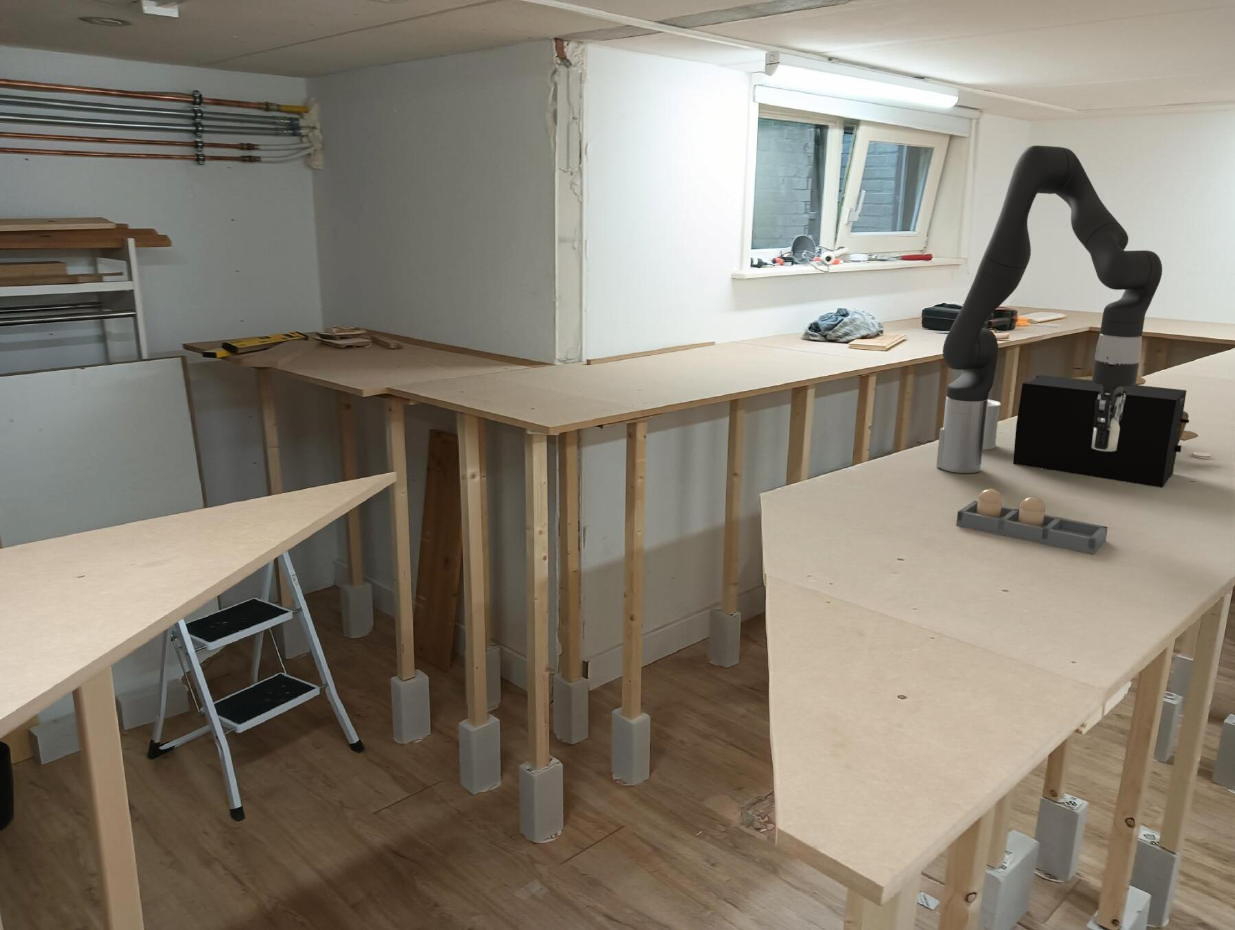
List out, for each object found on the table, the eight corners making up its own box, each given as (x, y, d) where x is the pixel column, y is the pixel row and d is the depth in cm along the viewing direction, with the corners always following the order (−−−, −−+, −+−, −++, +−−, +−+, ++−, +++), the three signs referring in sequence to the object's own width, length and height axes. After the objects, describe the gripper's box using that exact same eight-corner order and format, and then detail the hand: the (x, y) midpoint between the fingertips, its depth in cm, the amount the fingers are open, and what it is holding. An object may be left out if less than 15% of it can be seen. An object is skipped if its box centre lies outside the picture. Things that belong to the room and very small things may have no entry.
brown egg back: (972, 519, 186) (975, 489, 185) (980, 514, 189) (983, 484, 188) (995, 524, 183) (998, 494, 182) (1002, 518, 187) (1006, 488, 185)
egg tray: (956, 525, 186) (957, 511, 185) (972, 513, 193) (974, 500, 192) (1092, 554, 171) (1095, 539, 170) (1105, 540, 177) (1107, 526, 177)
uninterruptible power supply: (1030, 451, 241) (1040, 373, 235) (1181, 474, 221) (1195, 390, 215) (1011, 465, 228) (1021, 383, 223) (1169, 490, 208) (1184, 401, 203)
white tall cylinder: (1001, 450, 241) (1010, 373, 236) (965, 450, 242) (973, 372, 236) (986, 440, 252) (994, 365, 246) (951, 440, 252) (959, 365, 246)
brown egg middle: (1014, 528, 181) (1018, 497, 180) (1021, 522, 185) (1025, 492, 183) (1038, 533, 179) (1042, 502, 177) (1045, 527, 182) (1049, 496, 180)
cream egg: (1088, 448, 183) (1093, 417, 181) (1094, 444, 186) (1099, 413, 184) (1113, 452, 180) (1118, 421, 178) (1119, 448, 183) (1123, 417, 182)
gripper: (1105, 351, 186) (1093, 436, 191) (1085, 361, 175) (1073, 450, 180) (1147, 356, 181) (1134, 442, 186) (1130, 366, 171) (1116, 457, 175)
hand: (1104, 445), depth 183 cm, fingers closed on cream egg, 4 cm apart
